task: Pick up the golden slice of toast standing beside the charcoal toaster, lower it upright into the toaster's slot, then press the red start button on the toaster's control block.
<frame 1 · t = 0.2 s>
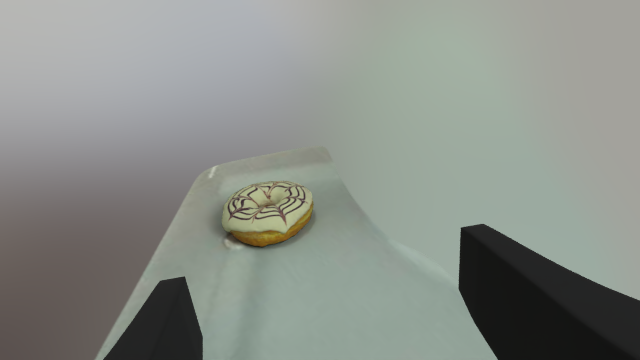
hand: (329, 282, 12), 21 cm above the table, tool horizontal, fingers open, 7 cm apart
decorated donut: (270, 225, 57), on the table
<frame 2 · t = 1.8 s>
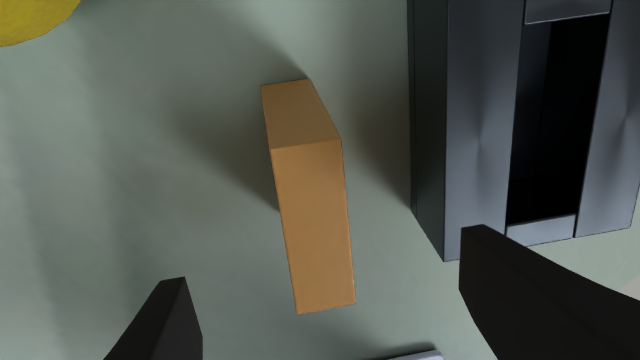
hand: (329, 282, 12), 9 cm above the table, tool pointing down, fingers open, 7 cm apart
toaster: (499, 97, 21), on the table
toast: (294, 151, 20), on the table
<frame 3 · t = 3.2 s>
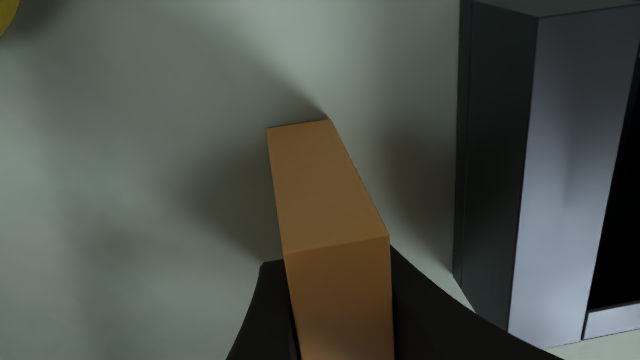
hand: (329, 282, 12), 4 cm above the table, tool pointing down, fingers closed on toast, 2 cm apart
toaster: (569, 138, 16), on the table
toast: (309, 207, 16), on the table, touching gripper
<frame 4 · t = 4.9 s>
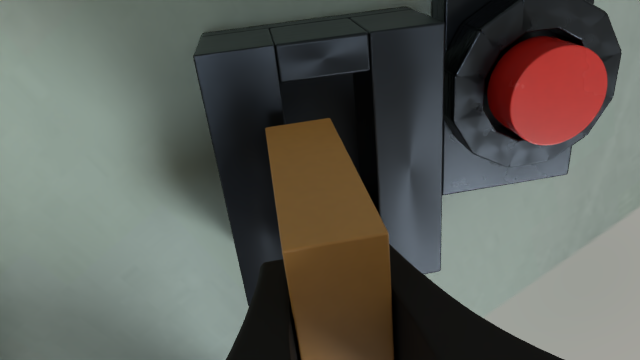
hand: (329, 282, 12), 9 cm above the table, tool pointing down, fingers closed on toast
start button: (544, 90, 17), point 4 cm above the table, slide at 0.1 cm
toaster: (319, 139, 21), on the table
toast: (309, 207, 16), point 5 cm above the table, touching gripper
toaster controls: (498, 68, 21), on the table
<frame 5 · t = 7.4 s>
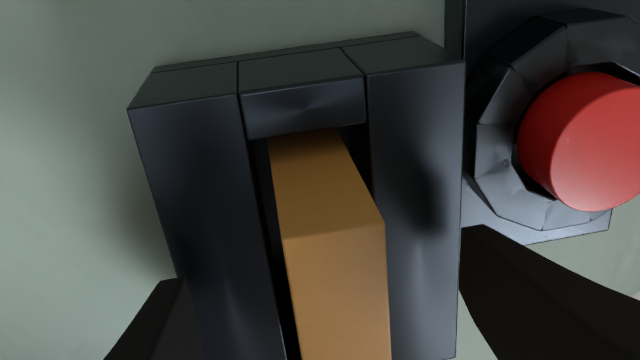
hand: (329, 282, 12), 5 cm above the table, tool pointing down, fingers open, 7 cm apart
start button: (592, 141, 14), point 4 cm above the table, slide at 0.1 cm
toaster: (305, 191, 17), on the table
toast: (307, 201, 16), point 1 cm above the table, touching toaster
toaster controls: (526, 104, 17), on the table
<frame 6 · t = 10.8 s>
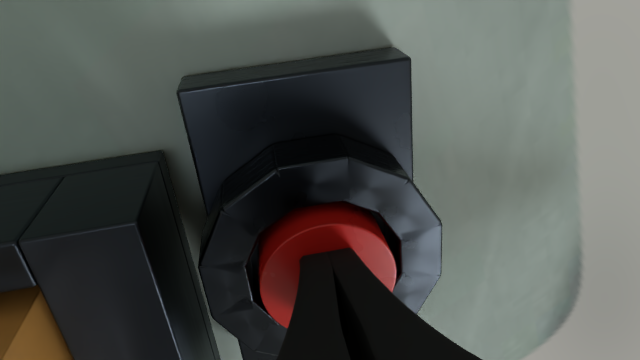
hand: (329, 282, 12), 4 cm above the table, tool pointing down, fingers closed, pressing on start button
start button: (324, 263, 13), point 3 cm above the table, slide at -0.7 cm, touching gripper
toaster: (77, 307, 16), on the table
toast: (69, 323, 15), point 1 cm above the table, touching toaster
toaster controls: (311, 214, 16), on the table
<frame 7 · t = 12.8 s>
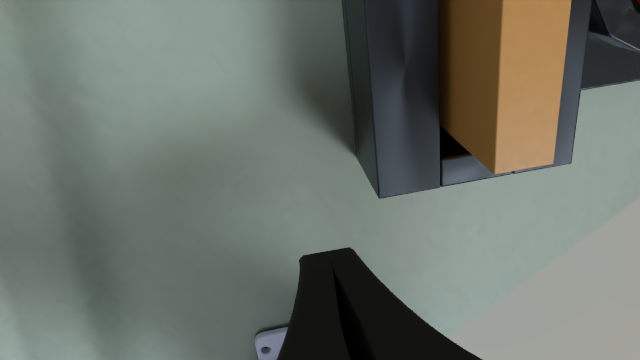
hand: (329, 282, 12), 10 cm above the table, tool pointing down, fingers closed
toaster: (438, 35, 20), on the table
toast: (445, 37, 20), point 1 cm above the table, touching toaster
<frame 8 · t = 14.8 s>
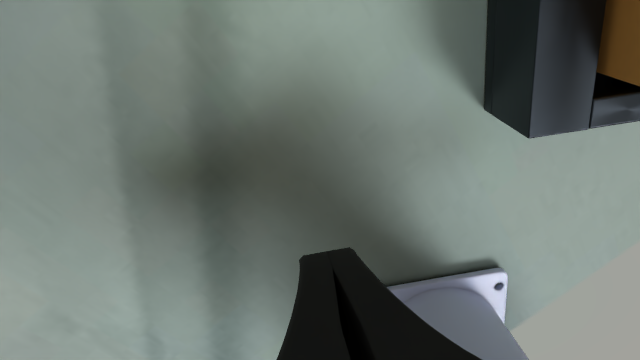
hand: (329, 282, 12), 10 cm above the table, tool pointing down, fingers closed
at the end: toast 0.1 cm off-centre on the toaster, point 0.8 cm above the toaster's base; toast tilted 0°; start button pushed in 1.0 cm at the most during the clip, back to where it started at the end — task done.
